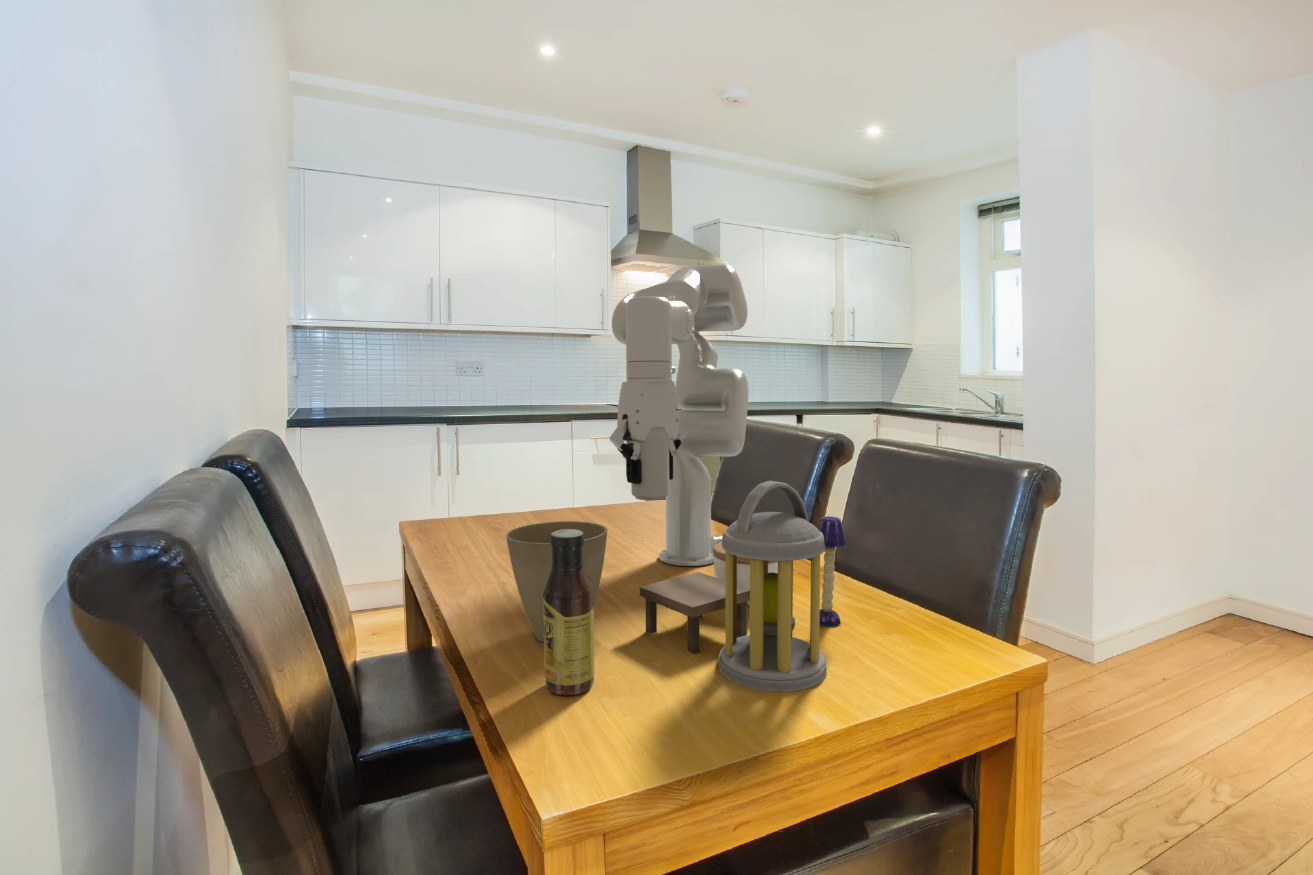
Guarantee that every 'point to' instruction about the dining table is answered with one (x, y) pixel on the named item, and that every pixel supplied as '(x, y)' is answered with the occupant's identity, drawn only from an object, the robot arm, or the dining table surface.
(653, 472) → the beverage can
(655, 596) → the small brown table
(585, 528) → the plant pot
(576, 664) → the sauce bottle
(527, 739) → the dining table surface
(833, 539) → the toy lamp
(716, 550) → the lidded bowl
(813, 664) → the lantern
